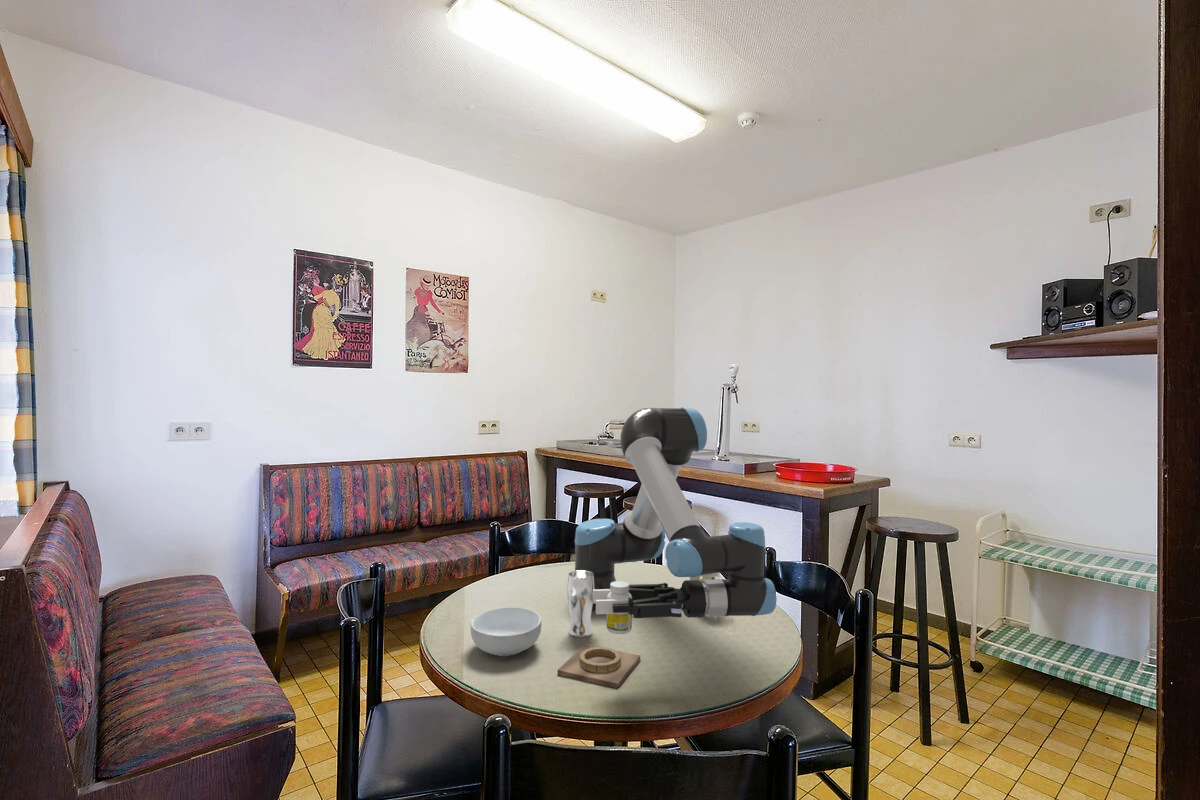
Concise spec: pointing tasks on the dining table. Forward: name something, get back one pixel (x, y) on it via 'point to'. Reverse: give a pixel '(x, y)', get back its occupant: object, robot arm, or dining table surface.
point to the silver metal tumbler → (580, 602)
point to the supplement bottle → (619, 621)
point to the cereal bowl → (506, 630)
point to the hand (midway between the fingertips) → (594, 601)
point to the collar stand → (599, 665)
